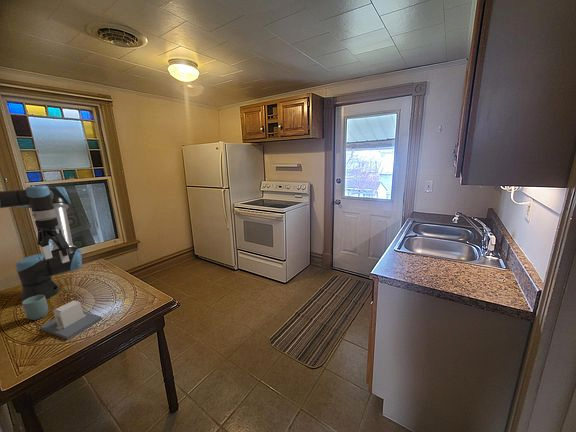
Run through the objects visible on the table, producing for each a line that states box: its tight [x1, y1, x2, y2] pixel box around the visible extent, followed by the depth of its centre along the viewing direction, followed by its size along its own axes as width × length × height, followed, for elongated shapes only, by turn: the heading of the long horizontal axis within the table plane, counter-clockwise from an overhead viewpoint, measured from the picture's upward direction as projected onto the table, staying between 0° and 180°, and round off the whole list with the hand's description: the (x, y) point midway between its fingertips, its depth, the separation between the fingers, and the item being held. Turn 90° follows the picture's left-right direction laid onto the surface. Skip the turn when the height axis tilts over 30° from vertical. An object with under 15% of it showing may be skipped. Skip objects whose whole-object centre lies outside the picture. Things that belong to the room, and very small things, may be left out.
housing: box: [52, 300, 84, 328], centre depth 111 cm, size 5×8×8 cm, turn 160°
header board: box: [39, 310, 103, 341], centre depth 112 cm, size 20×14×6 cm
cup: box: [21, 295, 49, 321], centre depth 117 cm, size 8×8×10 cm
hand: (57, 260), depth 119 cm, fingers open, 13 cm apart
